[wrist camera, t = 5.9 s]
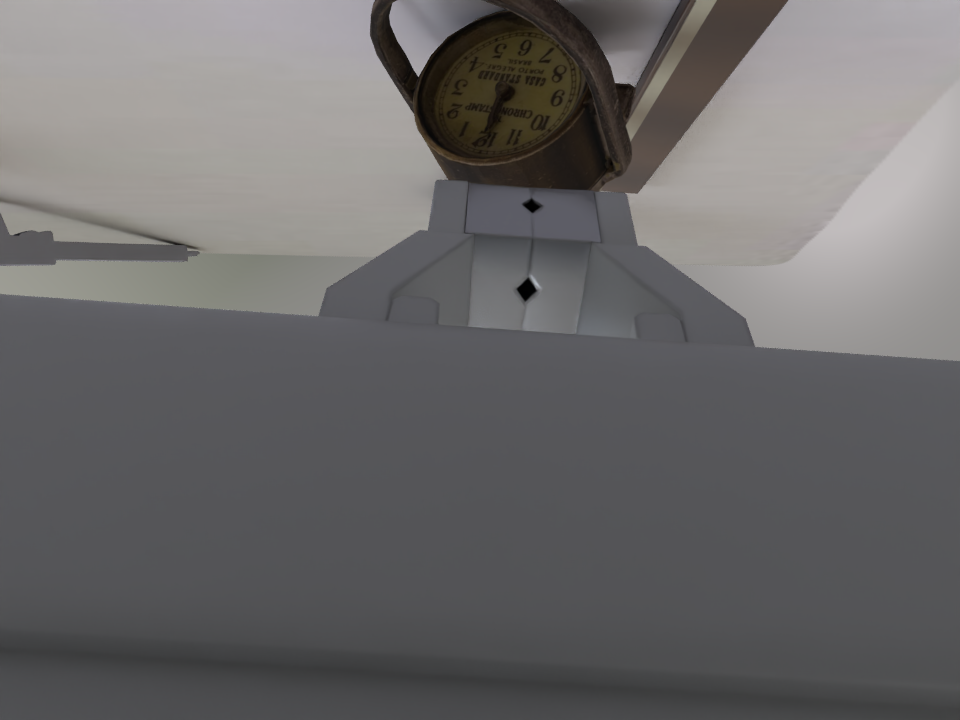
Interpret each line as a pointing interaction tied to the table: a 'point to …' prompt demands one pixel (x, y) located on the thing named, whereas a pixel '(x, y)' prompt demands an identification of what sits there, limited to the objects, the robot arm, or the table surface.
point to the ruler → (687, 77)
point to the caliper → (79, 250)
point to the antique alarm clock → (516, 99)
